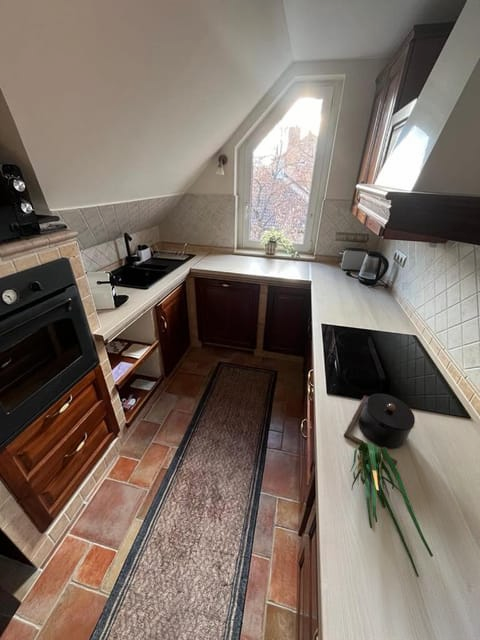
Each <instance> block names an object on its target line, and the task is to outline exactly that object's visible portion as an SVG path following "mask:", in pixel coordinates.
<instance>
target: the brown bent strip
mask: <svg viewBox="0 0 480 640" xmlns="http://www.w3.org/2000/svg"><path fill="white" fill-rule="evenodd" d="M368 397H369V396H367V395H363V398H362V399H361V401H360V402H359V405H358V407H357V409H356V411H355V413H354V415H353V416H352V418H351V421H350V422H349V424H348V425H347V428H346V429H345V432H344V433H343V437H344V438H346V439H348V440H350V441H351V442H353V443H354V444H356V445H357V446H358V445H359V446H360V443H361V441H362V440H363V439H360V438H359V437H357V436H355V435H353V434H351V433H352V430H353V428H354V425H355V424H356V422H357V421H358V420H357V419H359V417H360V415H361V412H362V410H363V407H364V405H365V402H366V400H367V398H368ZM364 443H365V447H366V446H367V443H368V442H365V441H364ZM379 453H380V451H379ZM391 459H392V461H393V463H394V464H395V466H397V463H398V460H397V459H395V458H393V457H391ZM382 460H383V461H385V462H386V460H385V458H384V457H383V455H382Z"/></svg>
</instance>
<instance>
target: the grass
mask: <svg viewBox="0 0 480 640" xmlns="http://www.w3.org/2000/svg"><path fill="white" fill-rule="evenodd" d="M361 440H362V441H361V443H360V445H358V444H357V448H355V449H354V453H353V463H352V466H351V468H350V471H349V473H350V472H351V473H352V471H353V468H354V466H355V465H356V462H357V461H358V464H357V465H356V466H355V468H354V471H353V473H352V477H353V482H352V484H351V490H353V489H354V485H355V484H356V481H357V485H358V486H360V482H361V483H362V485H364V488H365V500H366V507H367V508H366V509H367V516H368V523H369V528H370V529H373V523H372V518H374V519H375V520H374V521H375V523H378V516H377V498H378V497H379V500H380V503H381V505H382V508H383V509H387V512H388V513H389V516H390V517H391V520H392V522H393V524H394V526H395V529H396V530H397V533H398V535H399V537H400V540H401V542H402V545H403V547H404V549H405V551H406V553H407V556H408V558H409V560H410V563H411V565H412V568H413V570H414V572H415V575H416V577H417V578H419V577H420V576H419V572H418V570H417V567H416V564H415V562H414V559H413V557H412V554H411V552H410V549H409V547H408V545H407V542H406V540H405V537H404V535H403V533H402V530H401V528H400V525H399V523H398V521H397V519H396V516H395V514H394V512H393V510H392V507H391V505H390V502H389V499H388V498H387V496H388V497H390V492H389V489H388V487H387V484H386V482H388V483H389V484H390V485H391V488H392V489H391V490H393V489H394V488H395V489H397V491H398V492H399V493H400V494H401V496H402V499H403V502H404V503H405V506H406V509H407V512H408V513H409V515H410V517H411V520H412V522H413V524H414V526H415V529H416V532H417V533H418V535H419V537H420V539H421V541H422V543H423V545H424V547H425V549H426V550H427V553H428V554H429V556H430V558H432V557H434V554H433V551H431V548H430V547H429V546H430V545H429V544H428V542H427V541H426V539H425V536H424V534H423V532H422V530H421V527H420V524H419V523H418V519H417V517H416V515H415V513H414V507H413V506H412V502H411V501H410V500H409V497H408V494H407V491H406V488H405V485H404V482H403V479H402V477H401V475H400V472H399V470H398V468H397V467H396V466H397V465H396V466H395V464H394V463H393V461H392V459H391V458H392V457H391V455H390V453H389V451H388V449H387V448H386V447H384V448H383V447H380V446H377V445H376V446H375V445H374V443H372V442H370V443H369V442H365V441H364V440H363V439H361ZM364 442H365V443H367V446H366V447H365V443H364ZM379 451H380V453H379ZM382 455H383V457H384V458H385V460H386V461H385V460H383V459H382ZM356 460H357V461H356ZM384 461H385V462H386V463H385V462H384ZM388 467H389V468H388ZM356 470H357V472H356ZM390 471H391V472H392V475H393V476H394V479H395V481H396V483H397V484H396V485H395V482H394V480H393V477H392V475H391V472H390ZM384 473H385V474H386V476H387V477H385V476H384ZM360 480H361V481H360ZM397 486H398V487H397ZM384 490H385V491H386V493H387V496H386V494H385V492H384ZM370 496H371V498H370ZM370 499H371V500H370ZM371 503H372V504H371ZM371 506H372V507H371ZM371 508H372V514H371Z"/></svg>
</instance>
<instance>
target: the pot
mask: <svg viewBox="0 0 480 640" xmlns="http://www.w3.org/2000/svg"><path fill="white" fill-rule="evenodd" d="M367 397H368V398H367V400H366V402H365V404H364V406H363V408H362V410H361V412H360V414H359V416H358V420H357V421H358V428H359V430H360V432H361V433H362V435H363V436H364V437H365V438H366V439H367V440H368V441H369V442H370V443H372V444H373V445H376V446H377V447H379V448H380V447H381V448H384V447H386V449H387V450H395V449H399V448H401V447H402V446H403V445H404V443H405V441H406V440H407V438H408V437H409V434H410V433H411V431H412V430H413V428H414V426H415V423H416V417H415V414H414V412H413V411H412V409H411V408H410V407H409V406H408V404H406V403H405V402H403V401H402V400H401V399H399V398H397V397H395V396H393V395H390V394H387V393H373V394H371V395H369V396H367Z"/></svg>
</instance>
